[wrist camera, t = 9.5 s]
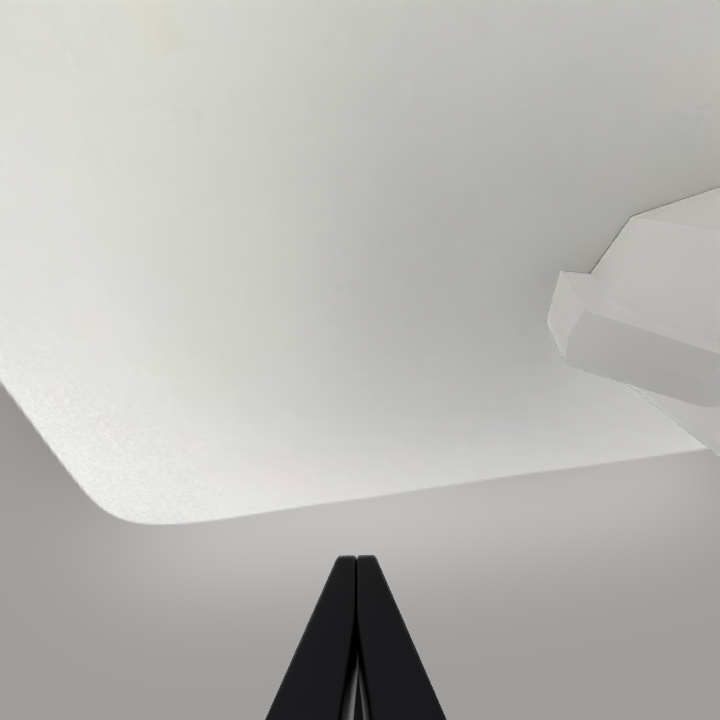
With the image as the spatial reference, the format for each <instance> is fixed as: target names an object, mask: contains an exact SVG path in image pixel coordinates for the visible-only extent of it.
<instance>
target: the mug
mask: <svg viewBox="0 0 720 720" xmlns="http://www.w3.org/2000/svg"><path fill="white" fill-rule="evenodd" d="M546 323H547V325H548V328H549V330H550V332H551V334H552V336H553V338H554V341H555V343H556V345H557V347H558V349H559V351H560V354H561V356H562V358H563V360H564V362H565V364H566V365H567V366H570V367H573V368H576V369H580V370H583V371H586V372H589V373H593V374H596V375H599V376H602V377H606V378H609V379H612V380H615V381H619V382H622V383H625V384H628V385H629V386H630V387H632V388H633V389H634V390H635V391H637V392H638V393H639V394H640V395H642V396H643V397H644V398H645V399H647V400H648V401H649V402H650V403H652V404H653V405H654V406H655V407H657V408H658V409H659V410H661V411H662V412H663V413H664V414H666V415H667V416H668V417H669V418H671V419H672V420H673V421H674V422H676V423H677V424H678V425H679V426H681V427H682V428H683V429H684V430H686V431H687V432H688V433H690V434H691V435H692V436H693V437H695V438H696V439H697V440H698V441H700V442H701V443H702V444H703V445H705V446H706V447H707V448H708V449H710V450H711V451H712V452H714V453H715V454H716V455H717V456H719V457H720V187H718V188H715V189H712V190H709V191H706V192H703V193H700V194H697V195H694V196H692V197H689V198H686V199H683V200H680V201H677V202H674V203H671V204H668V205H665V206H662V207H659V208H656V209H653V210H650V211H647V212H644V213H641V214H638V215H635V216H632V217H631V218H630V219H629V221H628V222H627V223H626V225H625V226H624V228H623V229H622V230H621V232H620V233H619V234H618V236H617V237H616V239H615V240H614V241H613V243H612V244H611V246H610V247H609V248H608V250H607V251H606V253H605V254H604V255H603V257H602V258H601V259H600V261H599V262H598V264H597V265H596V266H595V268H594V269H593V271H592V272H591V273H590V274H583V273H575V272H568V271H561V272H560V275H559V278H558V281H557V284H556V287H555V291H554V294H553V297H552V301H551V305H550V308H549V312H548V316H547V320H546Z"/></svg>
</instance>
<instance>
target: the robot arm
mask: <svg viewBox="0 0 720 720" xmlns="http://www.w3.org/2000/svg"><path fill="white" fill-rule="evenodd" d="M265 720H446V717H445V715H444V713H443V710H442V708H441V706H440V704H439V701H438V699H437V697H436V694H435V692H434V690H433V687H432V685H431V683H430V680H429V678H428V676H427V674H426V671H425V669H424V667H423V664H422V662H421V660H420V657H419V655H418V653H417V651H416V648H415V646H414V644H413V641H412V639H411V637H410V634H409V632H408V630H407V628H406V625H405V623H404V621H403V619H402V616H401V614H400V611H399V609H398V607H397V605H396V603H395V600H394V598H393V595H392V593H391V591H390V589H389V586H388V584H387V582H386V579H385V577H384V575H383V572H382V570H381V568H380V566H379V563H378V561H377V559H376V557H375V556H374V555H359V556H358V557H357V560H356V557H355V556H353V555H352V556H351V555H347V556H339V557H338V558H337V559H336V561H335V564H334V566H333V568H332V570H331V572H330V575H329V577H328V579H327V581H326V584H325V586H324V588H323V591H322V593H321V595H320V597H319V600H318V602H317V604H316V606H315V609H314V611H313V613H312V615H311V618H310V620H309V622H308V624H307V627H306V629H305V632H304V634H303V636H302V638H301V640H300V642H299V645H298V647H297V649H296V652H295V654H294V656H293V658H292V661H291V663H290V665H289V667H288V670H287V672H286V674H285V676H284V679H283V681H282V683H281V685H280V688H279V690H278V692H277V695H276V697H275V699H274V701H273V703H272V706H271V708H270V710H269V713H268V715H267V717H266V719H265Z"/></svg>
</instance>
